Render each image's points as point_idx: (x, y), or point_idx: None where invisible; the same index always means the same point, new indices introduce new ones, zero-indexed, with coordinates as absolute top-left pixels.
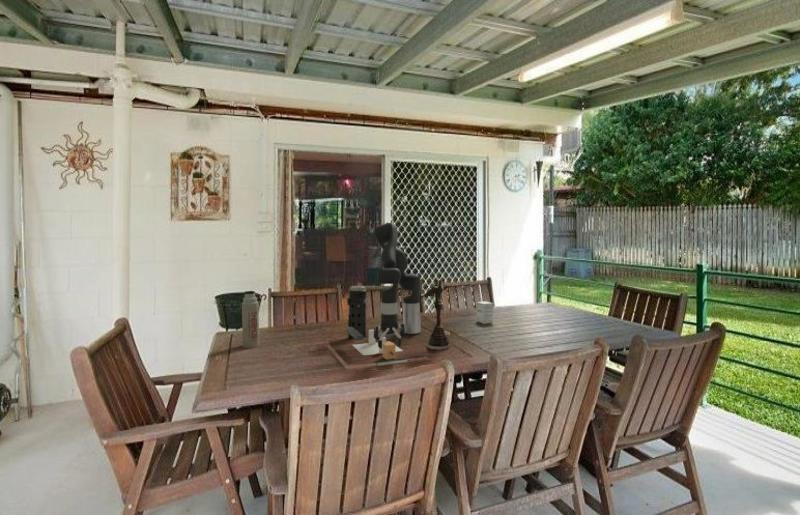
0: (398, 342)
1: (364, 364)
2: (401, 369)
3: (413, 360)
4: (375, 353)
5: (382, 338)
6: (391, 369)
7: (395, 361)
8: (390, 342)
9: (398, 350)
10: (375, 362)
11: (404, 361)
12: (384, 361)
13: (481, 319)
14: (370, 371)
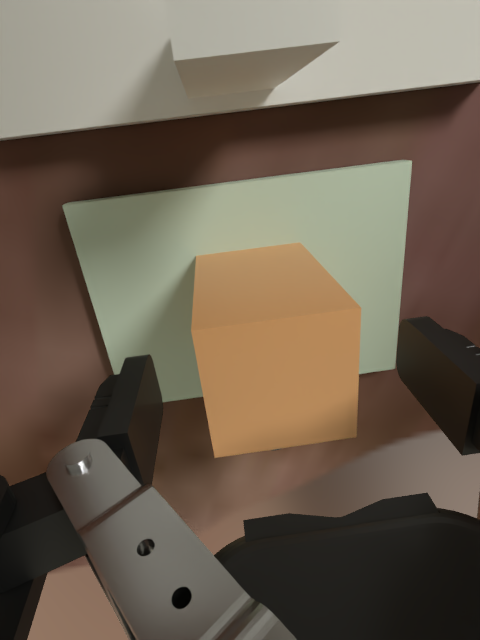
0: (428, 410)
1: (2, 346)
2: (283, 486)
3: (456, 328)
4: (120, 101)
5: (237, 56)
6: (216, 478)
7: None
8: (330, 317)
9: (463, 35)
10: (107, 343)
11: (365, 369)
12: (192, 359)
13: None
14: None
